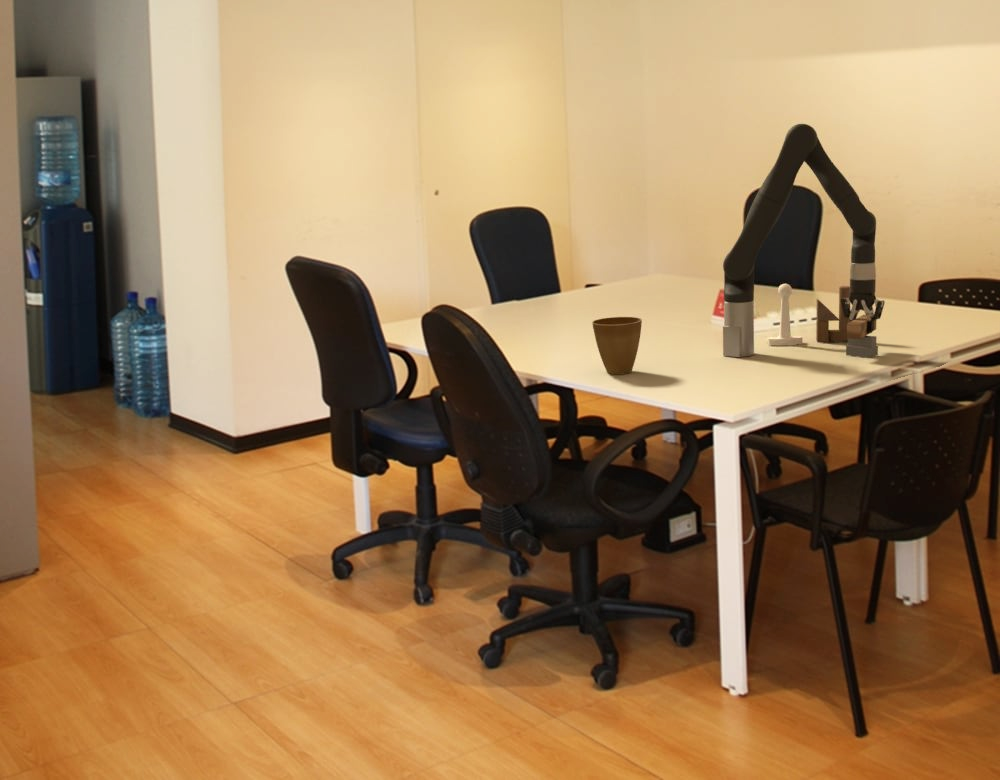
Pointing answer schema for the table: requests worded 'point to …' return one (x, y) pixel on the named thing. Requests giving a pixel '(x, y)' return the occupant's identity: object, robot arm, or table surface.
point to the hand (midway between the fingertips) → (861, 332)
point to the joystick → (784, 321)
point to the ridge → (862, 347)
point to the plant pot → (618, 342)
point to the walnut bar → (858, 328)
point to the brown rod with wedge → (826, 315)
